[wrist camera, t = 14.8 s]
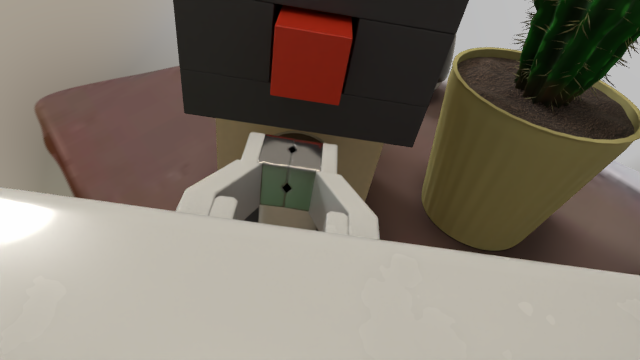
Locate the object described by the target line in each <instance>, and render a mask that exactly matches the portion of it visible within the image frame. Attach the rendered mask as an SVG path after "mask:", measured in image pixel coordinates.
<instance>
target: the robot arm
mask: <svg viewBox="0 0 640 360" xmlns="http://www.w3.org/2000/svg"><path fill="white" fill-rule="evenodd" d="M337 164H338V146H337V145H336V144H328V143H317V142H310V141H303V140H296V139H292V138H286V137H281V136H275V135H269V134H263V133H257V132H251V133H250V134H249V137H248V140H247V143H246V146H245V149H244V152H243V155H242V158H241V160H235V161H233V162H232V163H230V164H228V165H226V166H225V167H223V168H221V169H220V170H218V171H216V172H215V173H213V174H211V175H209V176H208V177H206V178H204V179H203V180H201V181H199V182H198V183H196V184H194V185H192V186H191V187H189V188H187V189H186V190H185V192H184V194H183V196H182V198H181V200H180V202H179V205H178V207H177V209H176V211H170V210H163V209H156V208H148V207H141V206H134V205H127V204H119V203H112V202H105V201H98V200H91V199H83V198H76V197H68V196H61V195H54V194H47V193H40V192H32V191H25V190H18V189H11V188H4V187H0V360H640V275H633V274H626V273H619V272H611V271H604V270H597V269H589V268H582V267H575V266H567V265H560V264H553V263H545V262H538V261H531V260H524V259H517V258H509V257H502V256H495V255H488V254H480V253H473V252H466V251H459V250H452V249H444V248H437V247H430V246H423V245H416V244H408V243H401V242H394V241H387V240H380V236H379V225H378V217H377V216H376V215H375V213H374V212H373V211H372V210H371V209H370V208H369V206H368V205H367V204H366V203H365V202H364V201H363V200H362V198H361V197H360V196H359V195H358V194H357V193H356V191H355V190H354V189H353V188H352V187H351V186H350V184H349V183H348V182H347V181H346V180H345V179H344V178H343V176H342V175H339V174H337ZM259 205H266V206H274V207H283V208H289V209H295V210H301V211H307V212H308V213H309V215H310V217H311V218H312V220H313V222H314V224H315V225H316V227H317V229H318V231H314V230H307V229H300V228H293V227H285V226H278V225H271V224H264V223H257V222H249V221H244V220H245V219H246V218H247V217H248V216H249V215H250V214H251V213H252V212H253V211H255V210H256V209H257V208H258V207H259Z"/></svg>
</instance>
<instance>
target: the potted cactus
mask: <svg viewBox="0 0 640 360" xmlns="http://www.w3.org/2000/svg"><path fill="white" fill-rule="evenodd" d="M534 6H535V7H536V10H537V13H536V14H532V13H531V14H530V13H529V14H530V15H533V16H532V17H533V18H532V17H531V18H532V20H530V21H531V23H530V24H531V27H529V29H530V30H529V33H528V36H527V38H526V41H525V42H524V41H522V42H521V43H523V42H524V45H522V46H523V50H522V51H517V50H511V49H504V48H491V47H487V48H486V47H485V48H473V49H468V50H466V51H463V52H461V53H459V54H458V55H457V56H456V57H455V59H454V61H453V66H452V69H451V72H450V75H449V78H448V82H447V86H446V91H445V95H444V99H443V104H442V108H441V112H440V116H439V121H438V125H437V129H436V133H435V137H434V141H433V146H432V150H431V154H430V158H429V162H428V166H427V171H426V175H425V179H424V183H423V187H422V203H423V207H424V209H425V211H426V213H427V215H428V216H429V217H430V219H431V220H432V221H433V222H434V224H435V225H436V226H438V227H439V228H440V229H441V230H442V231H443V232H445V233H446V234H447V235H449V236H450V237H452V238H454V239H455V240H457V241H459V242H461V243H464V244H466V245H468V246H471V247H475V248H478V249H483V250H491V251H497V250H505V249H509V248H511V247H513V246H515V245H517V244H518V243H520V242H521V241H522V240H524V239H525V238H526V237H527V236H528V235H529V234H530V233H531V232H533V231H534V230H535V229H536V228H537V227H538V226H539V225H540V224H542V223H543V222H544V221H545V220H546V219H547V218H548V217H550V216H551V215H552V214H553V213H554V212H555V211H556V210H557V209H559V208H560V207H561V206H562V205H563V204H564V203H565V202H567V201H568V200H569V199H570V198H571V197H572V196H573V195H574V194H576V193H577V192H578V191H579V190H580V189H581V188H582V187H584V186H585V185H586V184H587V183H588V182H589V181H590V180H592V179H593V178H594V177H595V176H596V175H597V174H598V173H599V172H601V171H602V170H603V169H604V168H605V167H606V166H607V165H609V164H610V163H611V162H612V161H613V160H614V159H616V158H617V157H618V156H619V155H620V154H621V153H622V152H624V151H625V150H626V149H627V148H628V147H629V145H630V144H631V143H632V142H633V141H635V140H637V139H639V138H640V111H639V109H638V108H637V107H636V106H635V105H634V104H633V103H632V102H631V101H630V100H628V98H626V97H625V96H624V95H623V94H621V93H620V92H618V91H617V90H615V89H614V88H612V87H611V86H609V85H607V84H606V83H604V82H602V81H601V80H600V79H601V78H603V77H604V76H606V74H607V72H608V71H609V70H610V68H611V67H612V66H613V65H616V64H615V63H616V62H617V61H618V60H619V59H620V58H621V57H622V56H623V55H624V53H625V52H626V50H627V49H628V46H629V45H630V44H632V45H633V43H634V41H635V40H636V39H637V38H638V37H639V36H640V0H534ZM526 22H528V21H526ZM527 24H528V23H527ZM528 25H529V24H528ZM526 26H527V25H526ZM518 36H519V35H518ZM522 37H523V36H522ZM519 41H521V40H519ZM635 42H637V40H636V41H635ZM637 43H638V42H637ZM517 44H519V43H517ZM630 47H631V48H633V49H634V48H635V47H634V46H633V47H632V46H630ZM634 51H635V49H634ZM628 52H629V49H628ZM636 52H637V51H636ZM629 54H630V53H629ZM620 60H621V61H623V62H624V60H622V58H621V59H620ZM619 62H620V61H619ZM625 62H626V61H625ZM617 63H618V62H617ZM620 63H621V62H620ZM621 64H622V63H621ZM622 65H624V64H622ZM626 67H627V66H626ZM606 78H607V77H606ZM607 81H608V82H610V81H609V80H608V79H607ZM611 84H612V83H611ZM612 85H613V84H612Z"/></svg>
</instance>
